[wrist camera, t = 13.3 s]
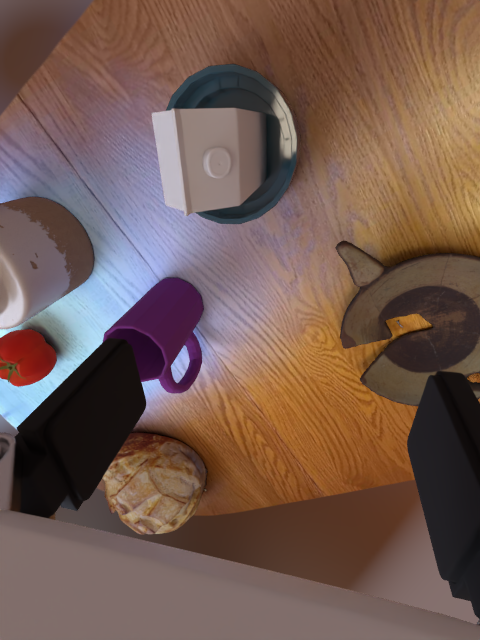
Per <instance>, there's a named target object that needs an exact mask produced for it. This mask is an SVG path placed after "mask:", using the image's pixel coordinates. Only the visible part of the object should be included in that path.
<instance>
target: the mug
mask: <svg viewBox="0 0 480 640" xmlns="http://www.w3.org/2000/svg"><path fill="white" fill-rule="evenodd" d="M203 310H204V308H203V303H202V299H201V295H200V294H199V293H198V292H197V291H196V289H195V288H194V287H193V286H192V285H191V284H189V283H187V282H185V281H183V280H181V279H179V278H169V279H163V280H161V281H160V282H159V283H158V284H156V285H155V286H154V287H153V288H151V289H150V290H149V291H148V292H147V293H146V294H145V295H144V296H143V297H142V298H141V299H140V300H139V301H138V302H137V303H136V304H135V305H134V306H133V307H132V308H131V309H129V310H128V311H127V312H126V313H125V314H124V315H123V316H122V317H121V318H120V319H119V320H118V321H117V322H116V323H115V324H114V325H113V326H112V327H111V328H110V329H109V330H107V331H106V332H105V334H104V339H103V342H104V341H105V340H106V339H108V338H116V339H125V340H126V341H127V342H128V344H130V345H131V346H132V348H133V352H134V356H135V360H136V364H137V368H138V371H139V375H140V379H141V382H144V381H149V380H154V379H159V381H160V383H161V386H162V387H163V388H164V389H165V390H166V391H167V392H169V393H182V392H185V391H186V390H188V389H189V388H190V386H191V385H192V384H193V382H194V381H195V379H196V377H197V375H198V373H199V371H200V368H201V364H202V351H201V348H200V344H199V342H198V340H197V338H196V336H195V334H194V333H193V330H194V328H195V326H196V325H197V323H198V322H199V320H200V317H201V315H202V312H203ZM184 345H185V346H186V347H187V350H188V353H189V358H190V363H189V367H188V369H187V371H186V373H185V375H184V377H183V378H182V379H181V380H180V382H179V383H176V382H175V381H174V379H173V376H172V372H171V365H172V363H173V362H174V360H175V358H176V357H177V355H178V354H179V352H180V351H181V349H182V347H183V346H184Z"/></svg>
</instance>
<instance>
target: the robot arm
mask: <svg viewBox="0 0 480 640" xmlns="http://www.w3.org/2000/svg"><path fill="white" fill-rule="evenodd" d="M145 408H146V399H145V395H144V391H143V387H142V383H141V379H140V375H139V371H138V368H137V364H136V360H135V356H134V352H133V348H132V346H131V345H130V344H128V342H127V341H126V340H125V339H116V338H108V339H106V340H105V341H104V342H103V343H102V344H101V345H100V346H99V347H98V348H97V349H96V350H95V351H94V352H93V353H92V354H91V355H90V356H89V357H88V358H87V359H86V360H85V361H84V362H83V363H82V364H81V365H80V366H79V367H78V368H77V369H76V370H75V371H74V372H73V373H72V374H71V375H70V376H69V377H68V378H67V379H66V380H65V381H64V382H63V383H62V384H61V385H60V386H59V387H58V388H57V389H56V390H54V391H53V392H52V393H51V394H50V395H49V396H48V397H47V398H46V399H45V400H44V401H43V402H42V403H41V404H40V405H39V406H38V407H37V408H36V409H35V410H34V411H33V412H32V413H31V414H30V415H29V416H28V417H27V418H26V419H25V420H24V421H23V422H22V423H21V424H20V425H19V426H18V427H17V430H18V431H19V433H18V435H16V436H15V437H13V436H12V435H11V434H8V433H0V640H480V403H479V401H478V399H477V397H476V396H475V394H474V392H473V390H472V388H471V387H470V385H469V383H468V381H467V379H466V378H465V376H464V375H463V374H462V373H457V372H447V371H437V373H436V374H435V375H430V376H429V377H428V379H427V382H426V385H425V388H424V391H423V394H422V397H421V400H420V403H419V406H418V409H417V412H416V415H415V418H414V421H413V424H412V427H411V430H410V433H409V436H408V441H407V447H408V453H409V457H410V461H411V465H412V468H413V472H414V476H415V480H416V483H417V488H418V492H419V495H420V500H421V504H422V507H423V511H424V515H425V519H426V523H427V527H428V531H429V535H430V539H431V543H432V547H433V551H434V554H435V558H436V562H437V566H438V570H439V573H440V575H441V577H442V579H443V580H447V581H449V585H450V589H451V592H452V596H453V597H455V598H460V599H464V600H468V601H471V603H472V607H473V610H474V613H475V615H476V616H477V617H478V618H479V621H478V622H477V624H473V623H469V622H466V621H463V620H460V619H457V618H454V617H450V616H447V615H443V614H439V613H436V612H432V611H428V610H425V609H421V608H417V607H413V606H409V605H406V604H402V603H398V602H394V601H390V600H387V599H383V598H379V597H375V596H371V595H367V594H363V593H359V592H355V591H351V590H347V589H343V588H339V587H335V586H331V585H326V584H322V583H318V582H314V581H310V580H306V579H302V578H298V577H294V576H290V575H286V574H282V573H278V572H274V571H269V570H265V569H261V568H257V567H253V566H249V565H245V564H240V563H236V562H232V561H228V560H223V559H219V558H215V557H211V556H207V555H203V554H199V553H194V552H190V551H186V550H182V549H178V548H174V547H169V546H165V545H161V544H157V543H153V542H148V541H144V540H140V539H135V538H131V537H127V536H123V535H118V534H114V533H109V532H105V531H101V530H97V529H93V528H88V527H84V526H80V525H76V524H71V523H67V522H63V521H57V520H55V512H56V511H57V509H58V508H59V506H60V505H61V507H63V508H67V509H71V510H76V511H77V510H78V509H79V507H80V506H81V504H82V503H83V501H85V500H87V499H89V498H90V496H91V495H92V493H93V492H94V490H95V489H96V487H97V486H98V484H99V482H100V481H101V479H102V478H103V476H104V474H105V473H106V471H107V470H108V468H109V466H110V465H111V463H112V462H113V460H114V458H115V457H116V455H117V454H118V452H119V450H120V449H121V447H122V446H123V444H124V443H125V441H126V439H127V438H128V436H129V435H130V433H131V431H132V430H133V428H134V427H135V425H136V423H137V422H138V420H139V419H140V417H141V415H142V414H143V412H144V410H145Z"/></svg>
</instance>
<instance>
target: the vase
mask: <svg viewBox="0 0 480 640" xmlns="http://www.w3.org/2000/svg"><path fill="white" fill-rule="evenodd" d="M93 263H94V255H93V249H92V245H91V242H90V240H89V237H88V235H87V233H86V231H85V230H84V228H83V227H82V225H81V224H80V223H79V221H78V220H77V219H76V218H75V217H74V216H73V215H72V214H71V213H70V212H69V211H68V210H67V209H65V208H64V207H62V206H61V205H59V204H58V203H56V202H54V201H51V200H49V199H45V198H41V197H26V198H21V199H17V200H13V201H9V202H5V203H0V329H9V328H13V327H16V326H18V325H20V324H22V323H24V322H25V321H27V320H28V319H30V318H31V317H33V316H35V315H36V314H38V313H39V312H41V311H42V310H44V309H45V308H47V307H48V306H50V305H51V304H53V303H54V302H56V301H57V300H59V299H60V298H62V297H63V296H65V295H66V294H68V293H69V292H71V291H73V290H74V289H76V288H77V287H79V286H80V285H81V284H83V283H84V282H85V281H86V280H87V279H88V277H89V276H90V274H91V272H92V269H93Z"/></svg>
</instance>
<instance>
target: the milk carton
mask: <svg viewBox="0 0 480 640" xmlns="http://www.w3.org/2000/svg"><path fill="white" fill-rule="evenodd" d="M152 120H153V127H154V134H155V140H156V147H157V153H158V160H159V166H160V173H161V179H162V186H163V193H164V199H165V204H166V206H169V207H172V208H176V209H179V210H182V211H184V214H185V216H188V215H189V214H191V213H195V212H202V211H208V210H215V209H221V208H228V207H234V206H240V205H241V204H242V203H243V202H244V201H245V200H246V199H247V198H248V197H249V196H250V195H251V194H252V193H253V192H254V191H255V190H257V189H258V188H259V187H260V186H261V185H262V184H263V183H264V182H265V181H266V114H265V113H260V112H255V111H249V110H244V109H238V108H205V109H171V110H169V111H162V112H156V113H152Z"/></svg>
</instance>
